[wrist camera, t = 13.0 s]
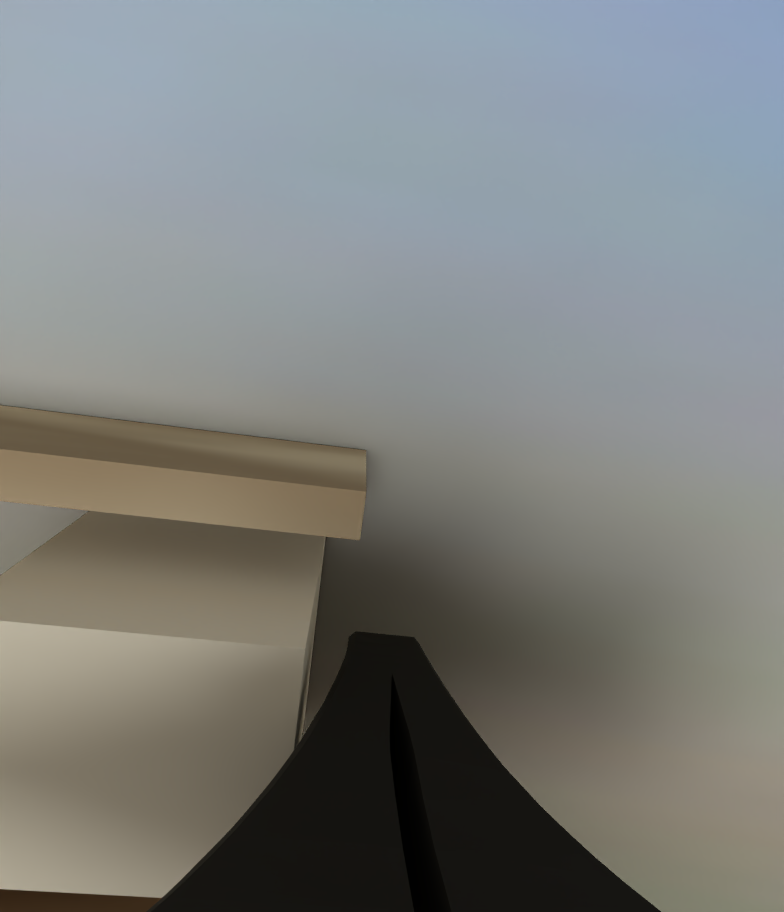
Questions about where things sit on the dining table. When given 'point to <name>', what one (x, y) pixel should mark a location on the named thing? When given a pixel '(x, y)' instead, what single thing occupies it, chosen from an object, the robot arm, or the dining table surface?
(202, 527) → the cream block
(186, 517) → the lane rack
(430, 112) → the dining table surface
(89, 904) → the walnut block
